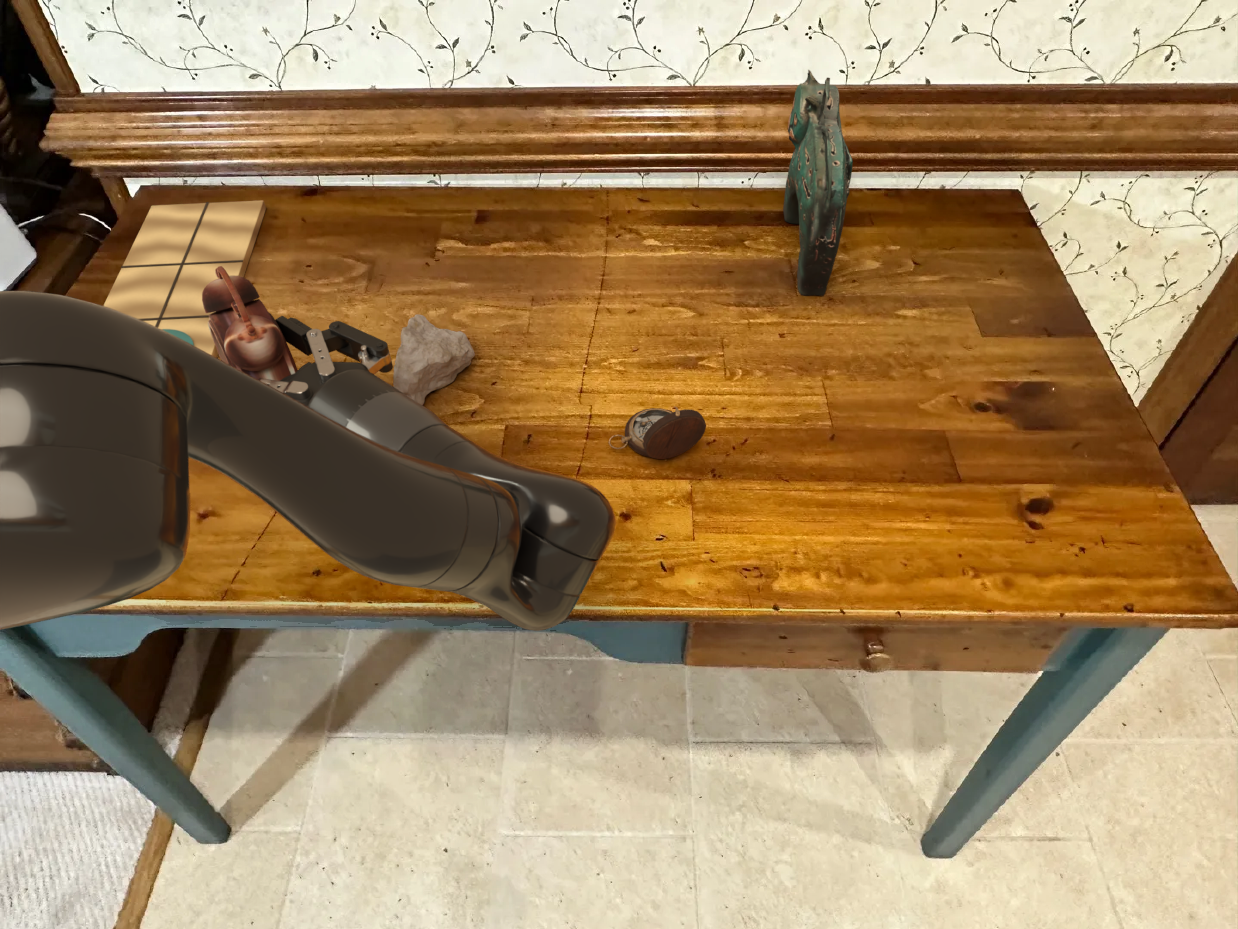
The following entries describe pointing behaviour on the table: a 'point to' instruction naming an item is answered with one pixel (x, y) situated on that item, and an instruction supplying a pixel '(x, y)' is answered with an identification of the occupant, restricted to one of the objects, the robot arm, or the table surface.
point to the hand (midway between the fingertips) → (246, 347)
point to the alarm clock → (245, 329)
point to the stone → (429, 358)
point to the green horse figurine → (817, 181)
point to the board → (184, 264)
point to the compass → (663, 432)
